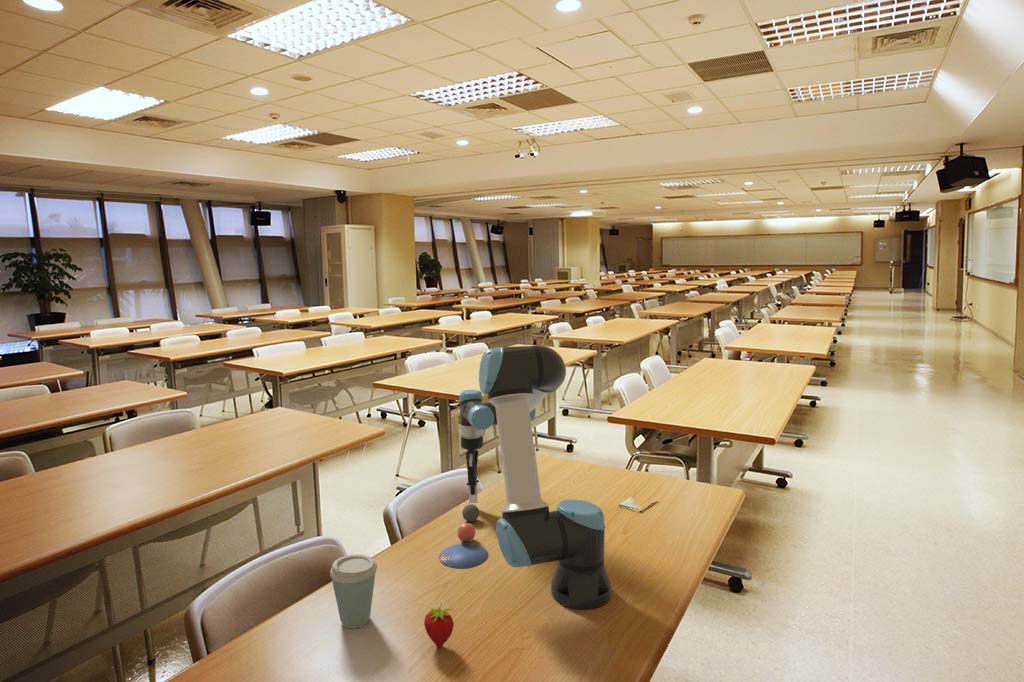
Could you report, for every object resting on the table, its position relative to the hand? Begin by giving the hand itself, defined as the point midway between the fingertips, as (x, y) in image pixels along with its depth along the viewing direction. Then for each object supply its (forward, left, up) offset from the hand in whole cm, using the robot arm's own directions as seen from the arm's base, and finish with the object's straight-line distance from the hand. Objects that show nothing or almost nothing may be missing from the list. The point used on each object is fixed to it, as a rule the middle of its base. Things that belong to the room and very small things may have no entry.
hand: (473, 502), depth 199 cm
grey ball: (-10, 0, 0) cm, 10 cm away
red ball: (-24, 0, 0) cm, 24 cm away
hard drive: (+3, -57, -3) cm, 57 cm away
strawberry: (-73, +1, -3) cm, 73 cm away
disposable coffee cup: (-64, +22, -3) cm, 67 cm away
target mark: (-33, 0, -2) cm, 33 cm away
